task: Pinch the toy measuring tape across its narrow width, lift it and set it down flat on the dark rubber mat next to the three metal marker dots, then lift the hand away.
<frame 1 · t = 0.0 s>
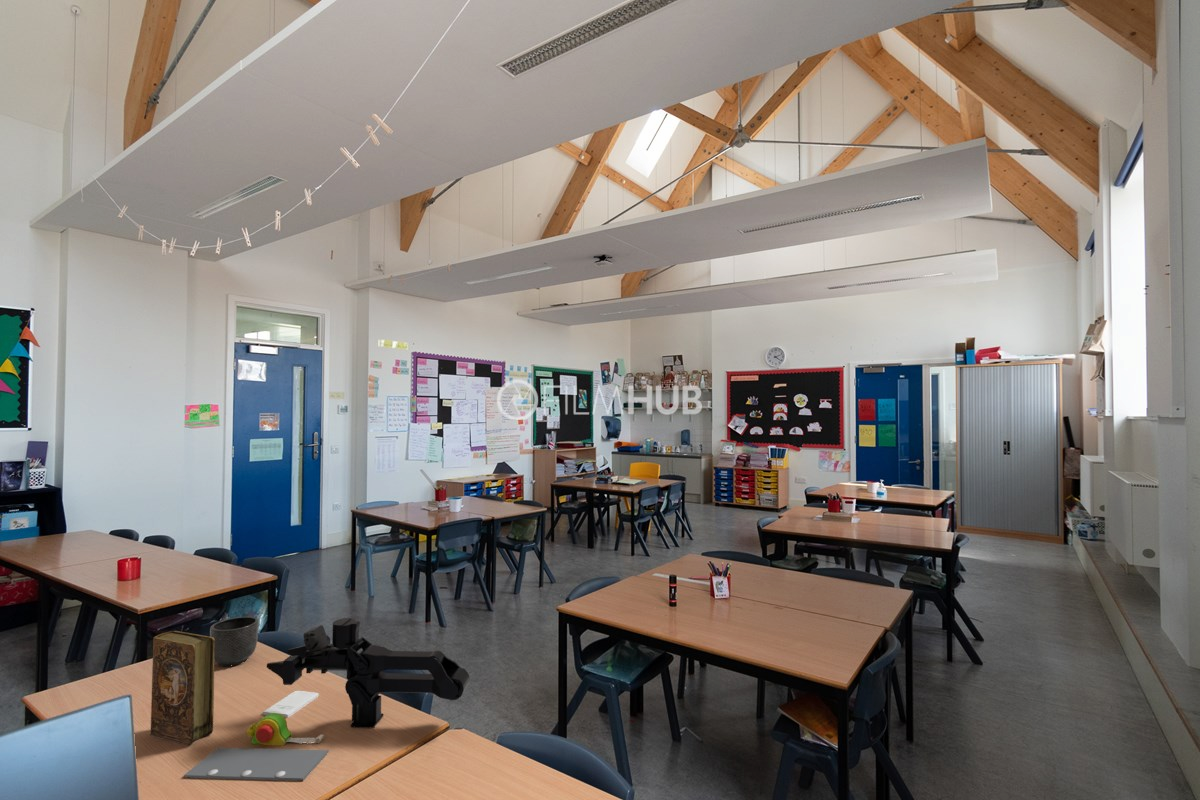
hand: (277, 658, 155), 17 cm above the table, tool horizontal, fingers open, 9 cm apart
toy measuring tape: (284, 742, 144), on the table
marked mat: (258, 764, 134), on the table
planter: (233, 662, 192), on the table
book: (179, 735, 147), on the table
external hard drive: (291, 707, 162), on the table
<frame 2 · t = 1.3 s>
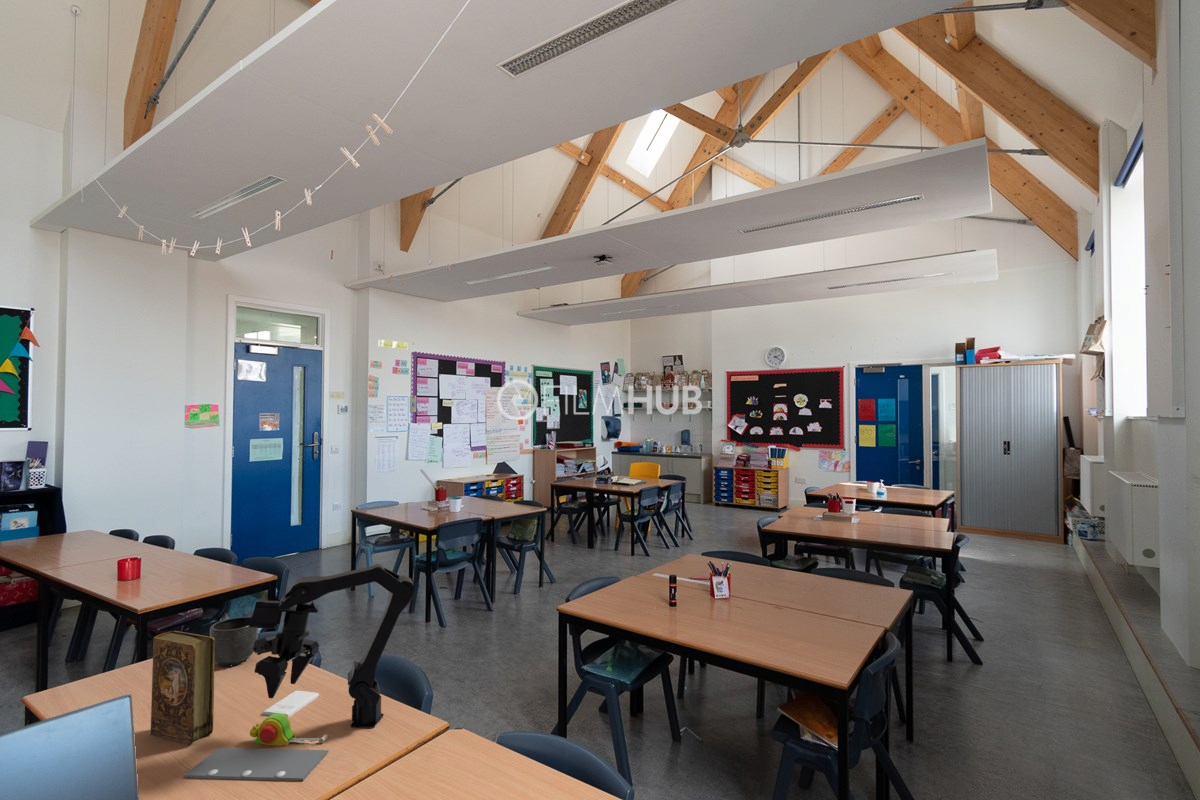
hand: (282, 690, 145), 12 cm above the table, tool pointing down, fingers open, 9 cm apart
nothing on the table moved.
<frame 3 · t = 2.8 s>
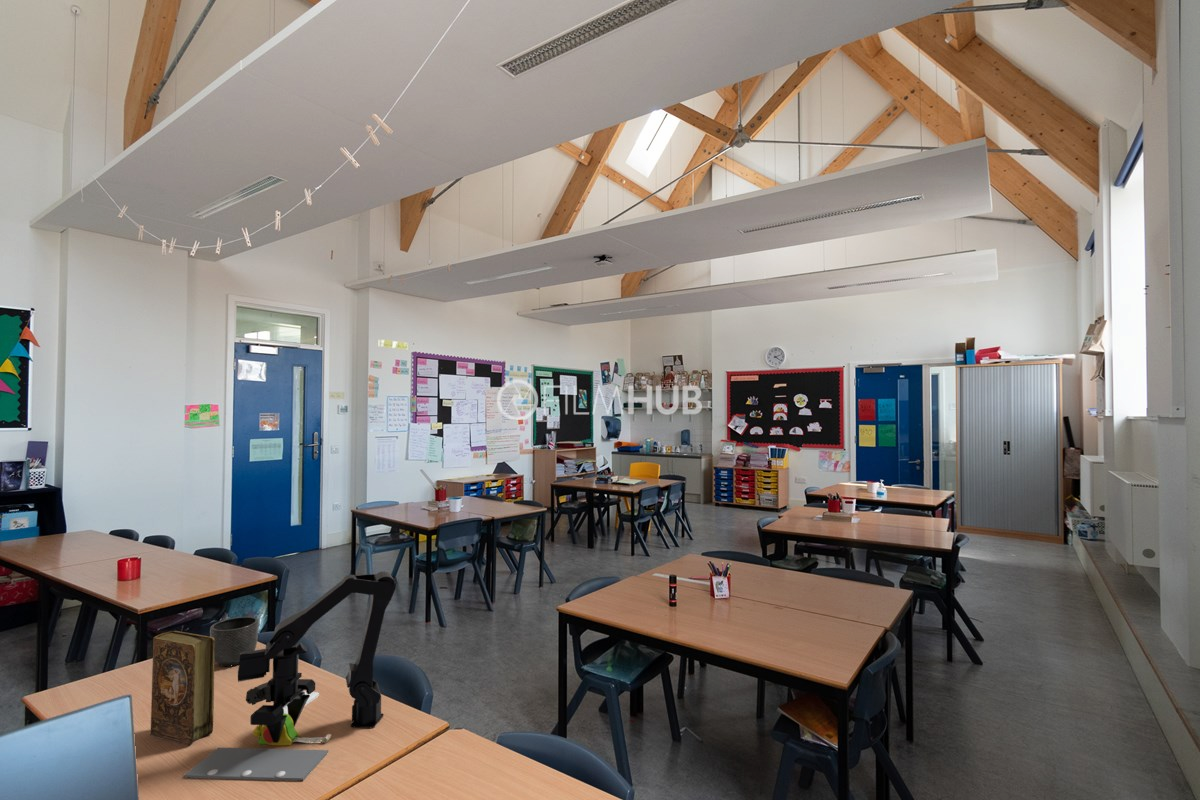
hand: (284, 735, 144), 2 cm above the table, tool pointing down, fingers closed on toy measuring tape, 6 cm apart
toy measuring tape: (291, 742, 144), on the table, touching gripper
everything else where it was.
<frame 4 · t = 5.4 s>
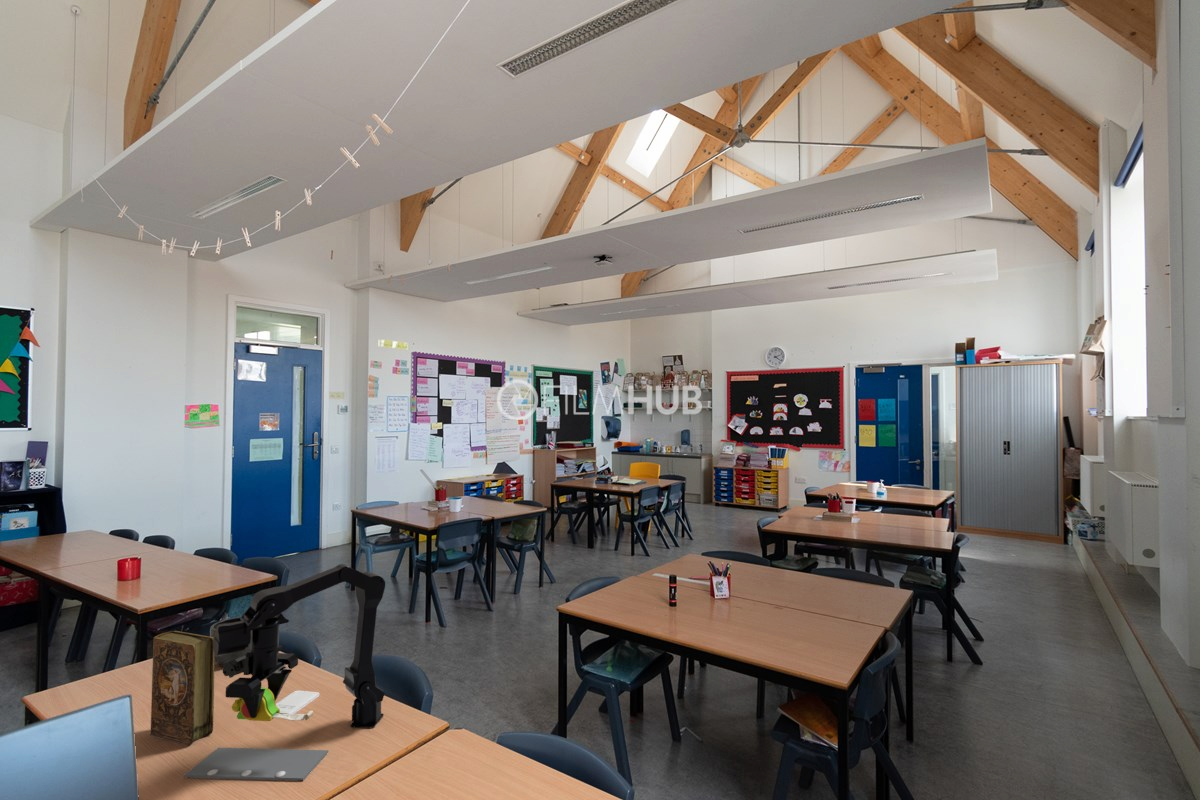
hand: (262, 710, 136), 12 cm above the table, tool pointing down, fingers closed on toy measuring tape, 6 cm apart
toy measuring tape: (271, 718, 136), point 10 cm above the table, touching gripper
everything else where it was.
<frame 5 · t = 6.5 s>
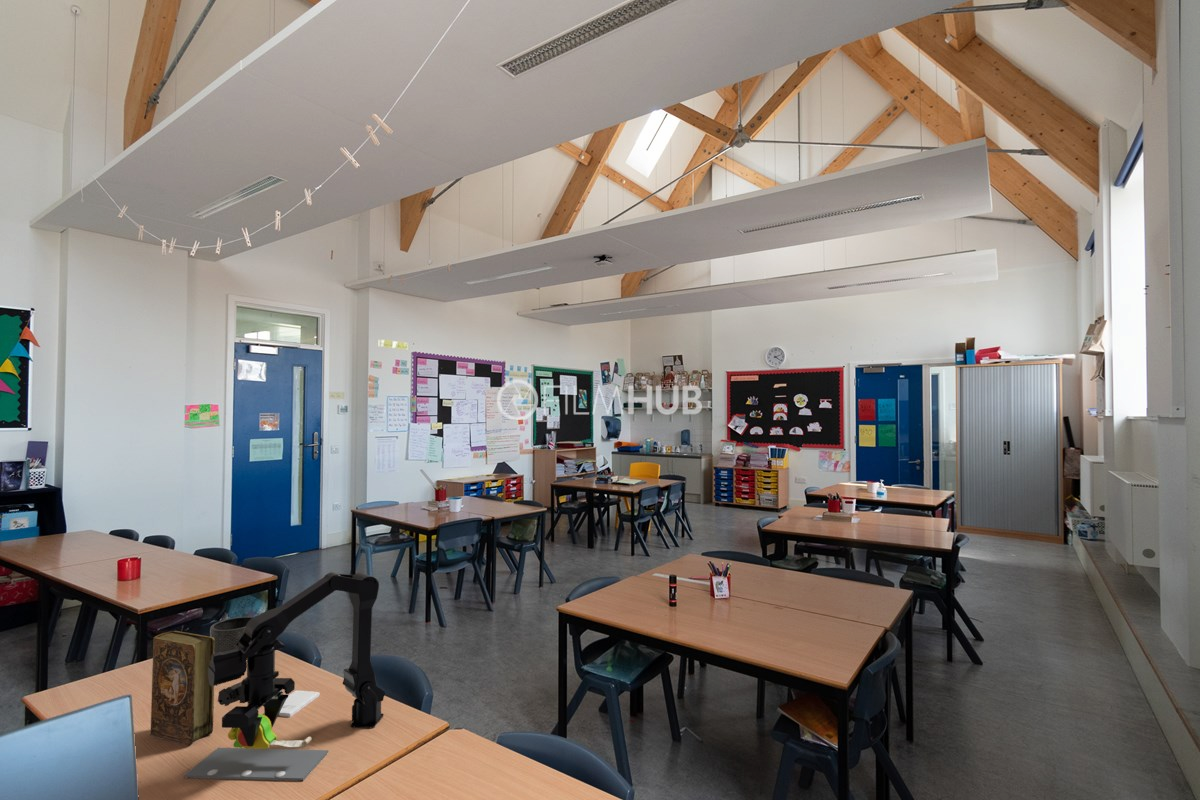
hand: (260, 737, 134), 6 cm above the table, tool pointing down, fingers closed on toy measuring tape, 6 cm apart
toy measuring tape: (269, 745, 134), point 4 cm above the table, touching gripper
everything else where it was.
when the fingers open (4 cm above the table, at t = 7.5 s): toy measuring tape drops 1 cm, resting on marked mat.
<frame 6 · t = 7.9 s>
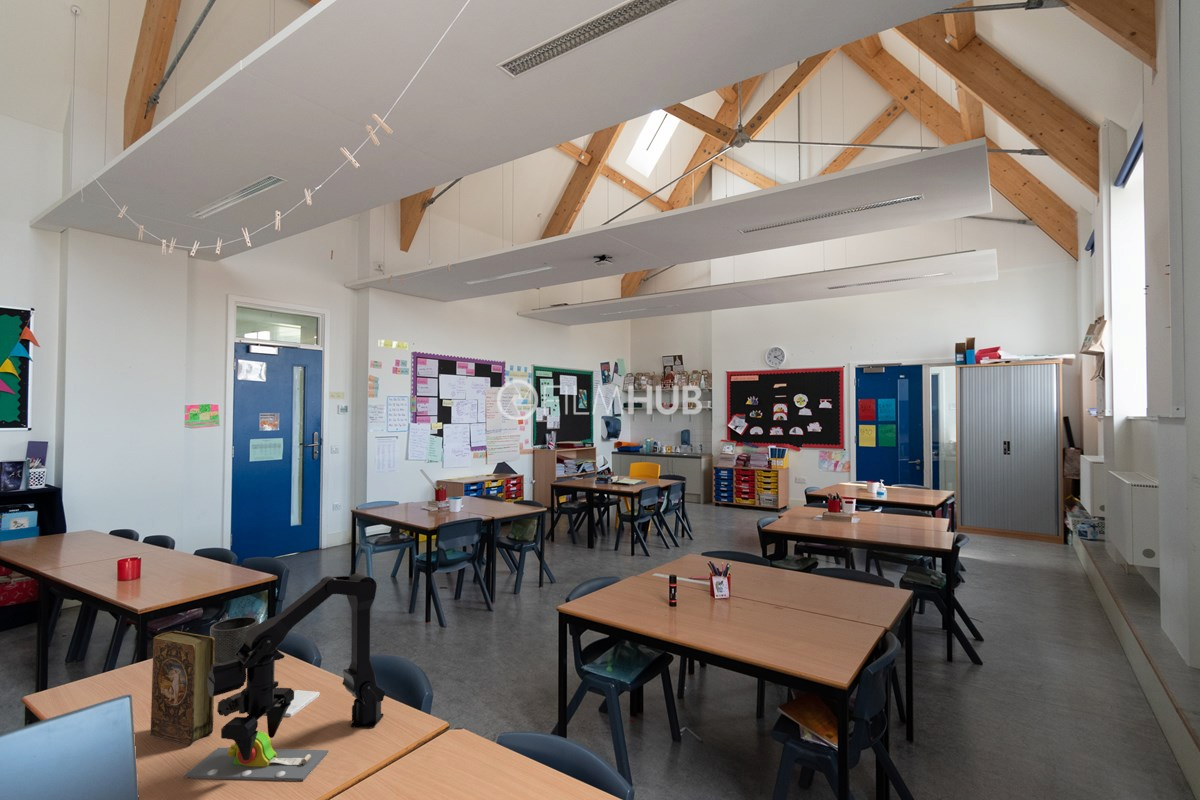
hand: (259, 748, 134), 4 cm above the table, tool pointing down, fingers open, 9 cm apart
toy measuring tape: (268, 763, 134), resting on marked mat
everything else where it was.
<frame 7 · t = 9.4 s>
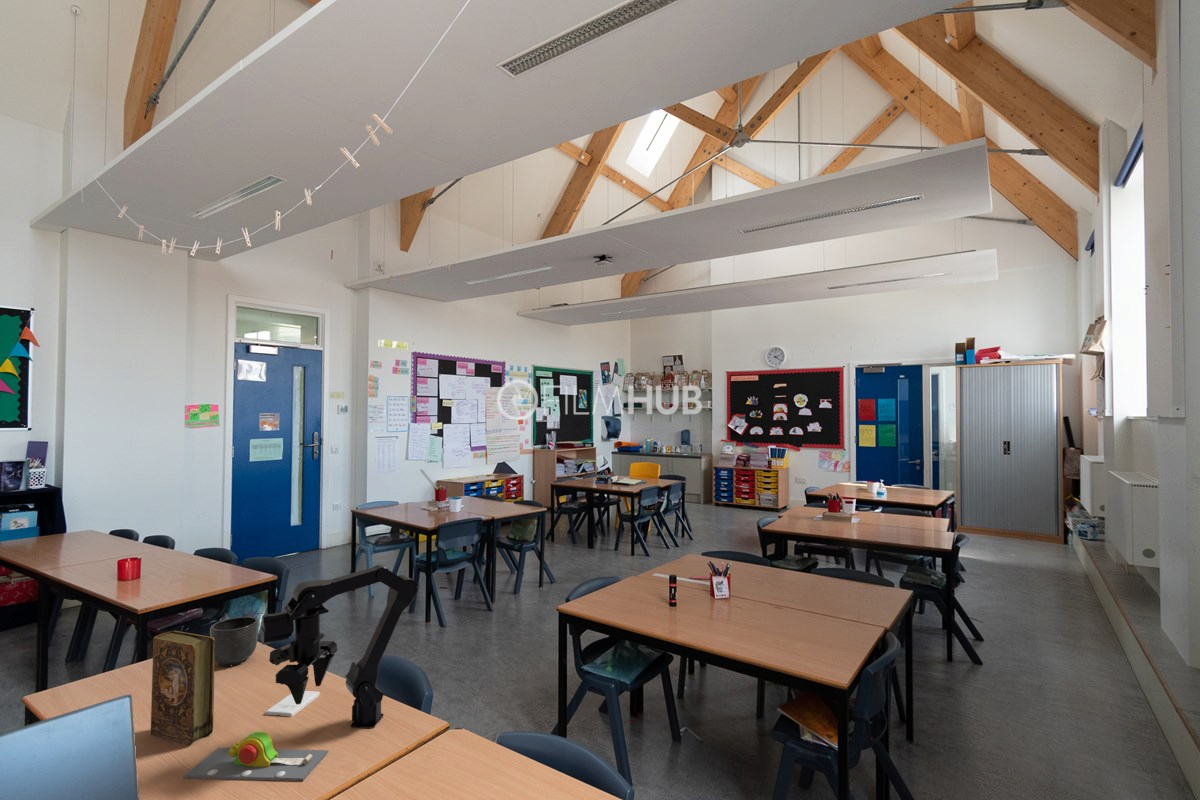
hand: (308, 694, 144), 12 cm above the table, tool pointing down, fingers open, 9 cm apart
nothing on the table moved.
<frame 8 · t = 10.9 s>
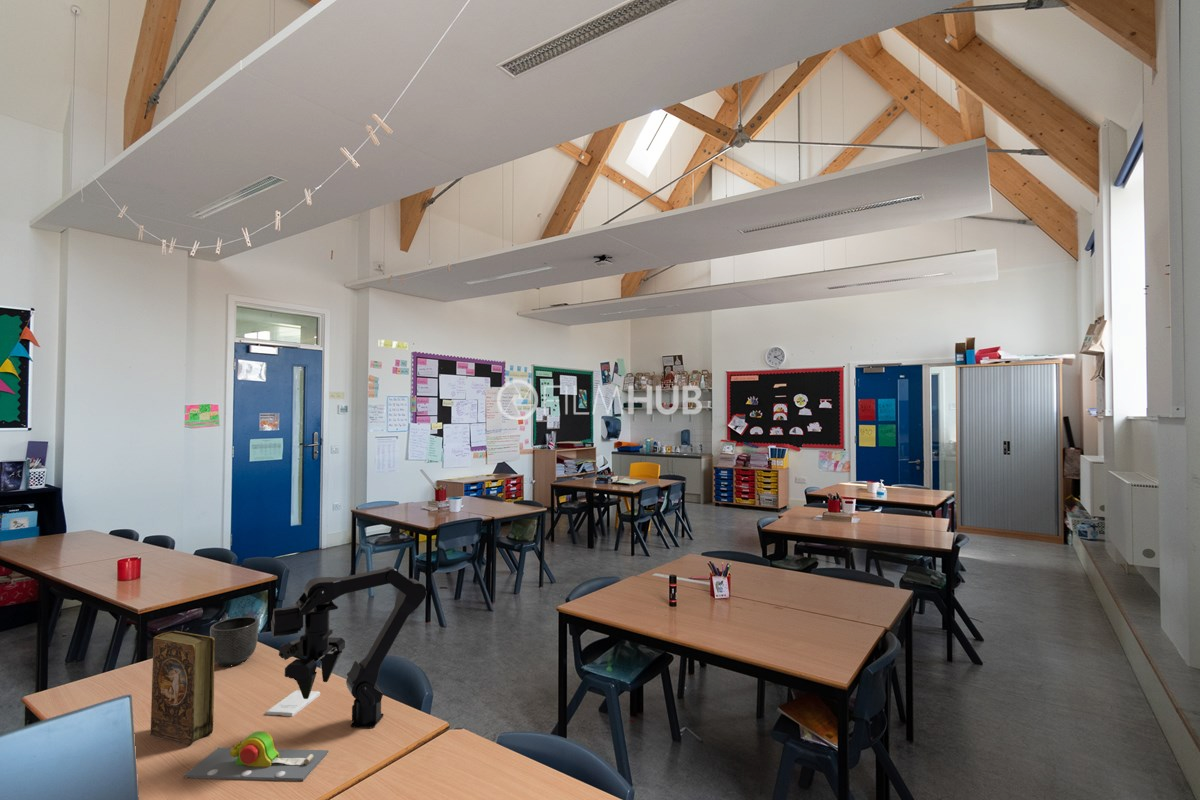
hand: (315, 689, 146), 12 cm above the table, tool pointing down, fingers open, 9 cm apart
nothing on the table moved.
at the end: toy measuring tape 2.9 cm off-centre on the marked mat, point 0.4 cm above the marked mat's base; toy measuring tape tilted 0°; the gripper is holding nothing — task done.
